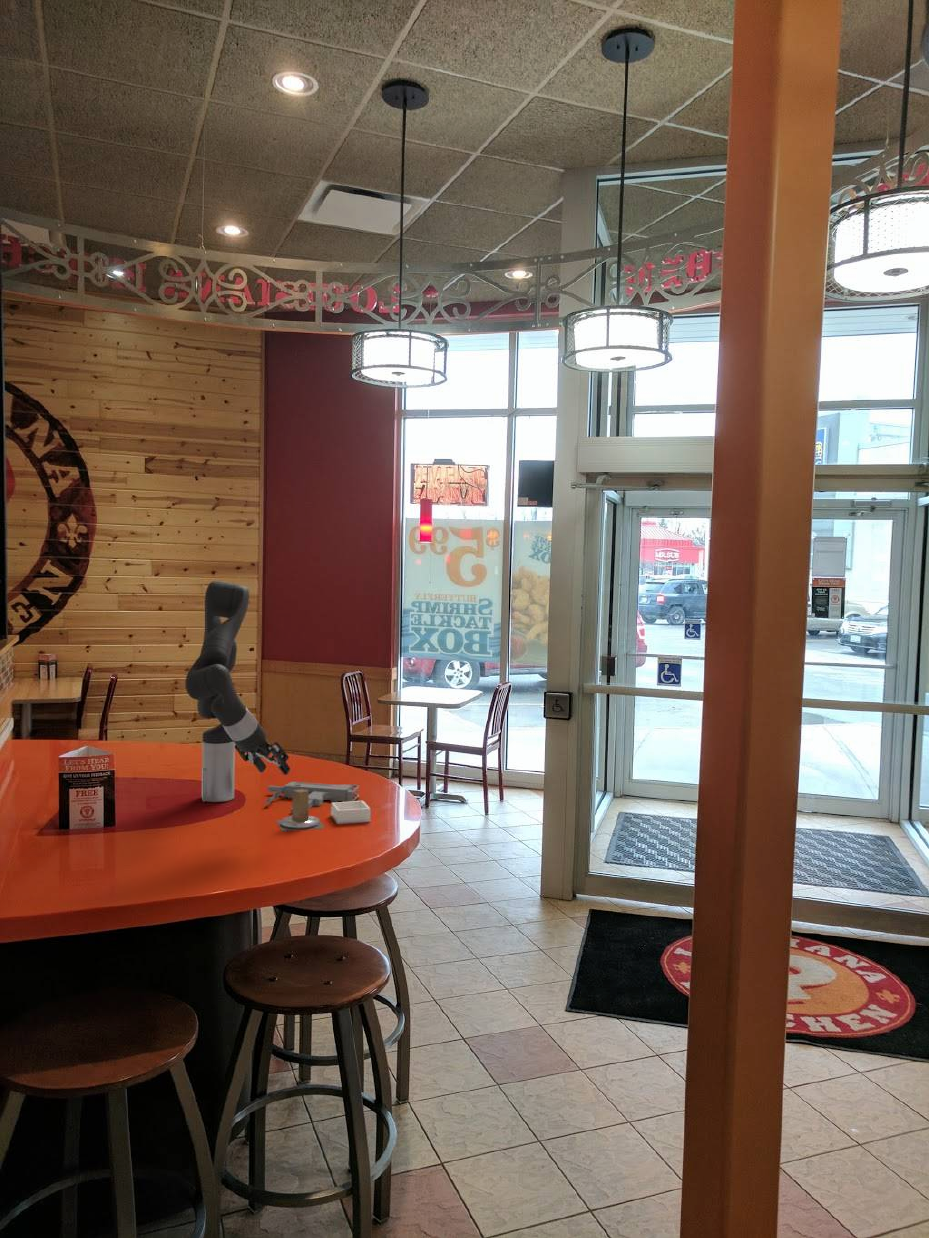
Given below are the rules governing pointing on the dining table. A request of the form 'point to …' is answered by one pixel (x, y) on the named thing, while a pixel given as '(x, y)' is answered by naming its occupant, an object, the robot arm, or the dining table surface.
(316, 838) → the dining table surface
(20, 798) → the dining table surface
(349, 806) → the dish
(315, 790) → the submachine gun
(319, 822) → the mat
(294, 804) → the lid
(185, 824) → the dining table surface
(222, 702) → the robot arm
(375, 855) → the dining table surface
